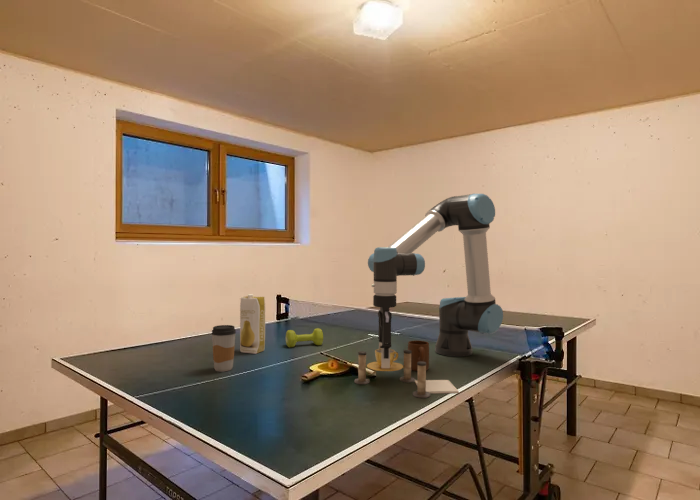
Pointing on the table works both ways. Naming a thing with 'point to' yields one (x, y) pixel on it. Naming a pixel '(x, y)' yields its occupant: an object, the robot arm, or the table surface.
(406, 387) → the table surface
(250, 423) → the table surface
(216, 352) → the coffee cup
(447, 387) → the coaster
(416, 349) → the mug
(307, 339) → the dumbbell
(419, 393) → the posts
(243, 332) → the juice carton
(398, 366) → the cup
